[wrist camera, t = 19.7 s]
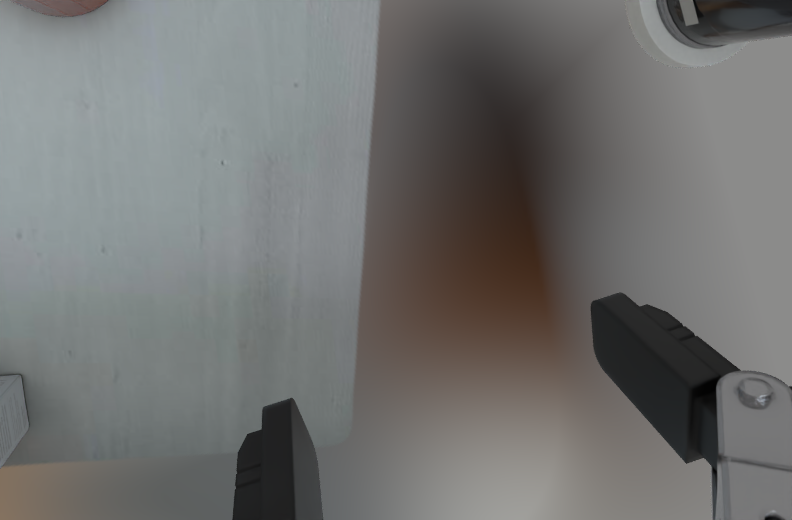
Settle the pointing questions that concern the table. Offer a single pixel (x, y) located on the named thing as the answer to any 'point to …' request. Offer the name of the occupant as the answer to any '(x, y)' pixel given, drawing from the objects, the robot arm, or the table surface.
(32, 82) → the table surface
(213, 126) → the table surface
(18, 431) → the cosmetic box
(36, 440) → the table surface
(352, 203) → the table surface
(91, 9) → the pot
